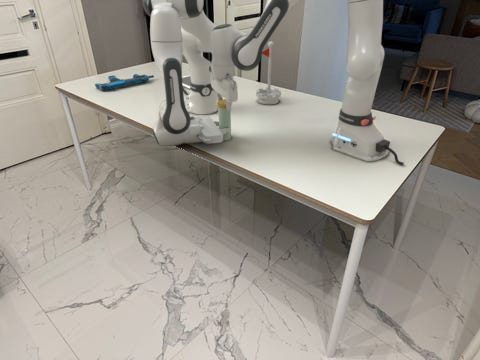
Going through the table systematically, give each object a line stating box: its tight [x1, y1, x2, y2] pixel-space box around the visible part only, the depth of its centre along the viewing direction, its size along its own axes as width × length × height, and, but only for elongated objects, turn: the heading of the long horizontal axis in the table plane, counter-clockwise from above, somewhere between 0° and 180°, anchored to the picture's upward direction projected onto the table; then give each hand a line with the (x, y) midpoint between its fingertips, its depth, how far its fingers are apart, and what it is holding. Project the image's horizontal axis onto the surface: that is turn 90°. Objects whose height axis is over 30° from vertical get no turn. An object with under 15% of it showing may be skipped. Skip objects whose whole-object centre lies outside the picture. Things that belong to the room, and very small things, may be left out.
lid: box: [217, 98, 232, 109], centre depth 136 cm, size 6×6×2 cm
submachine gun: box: [94, 73, 155, 91], centre depth 208 cm, size 34×4×25 cm
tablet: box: [182, 74, 191, 90], centre depth 208 cm, size 32×20×1 cm, turn 41°
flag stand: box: [255, 41, 282, 105], centre depth 173 cm, size 13×13×30 cm
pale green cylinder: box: [217, 108, 232, 141], centre depth 140 cm, size 5×5×16 cm
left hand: (226, 126), depth 142 cm, fingers closed on pale green cylinder, 5 cm apart
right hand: (224, 105), depth 136 cm, fingers open, 7 cm apart
